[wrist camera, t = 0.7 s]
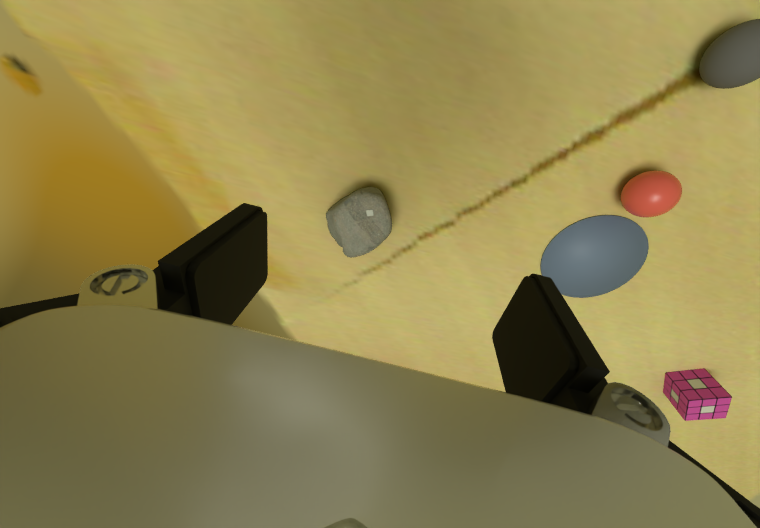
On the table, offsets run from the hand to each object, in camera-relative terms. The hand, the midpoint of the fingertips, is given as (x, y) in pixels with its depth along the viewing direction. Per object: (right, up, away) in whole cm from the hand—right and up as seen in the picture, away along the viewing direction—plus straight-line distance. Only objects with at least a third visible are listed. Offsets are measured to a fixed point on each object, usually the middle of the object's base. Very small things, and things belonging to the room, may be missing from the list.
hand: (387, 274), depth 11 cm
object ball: (+33, +9, +25) cm, 42 cm away
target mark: (+31, +1, +34) cm, 46 cm away
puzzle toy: (+55, -21, +44) cm, 73 cm away
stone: (-3, +8, +35) cm, 36 cm away
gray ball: (+35, +21, +18) cm, 44 cm away
